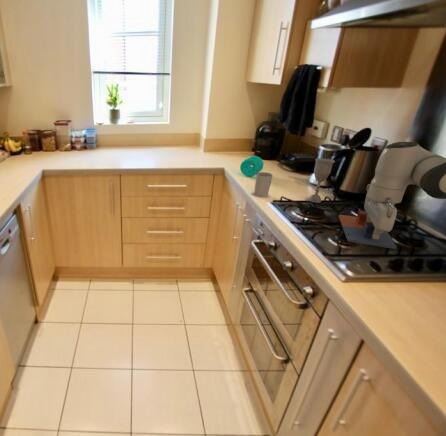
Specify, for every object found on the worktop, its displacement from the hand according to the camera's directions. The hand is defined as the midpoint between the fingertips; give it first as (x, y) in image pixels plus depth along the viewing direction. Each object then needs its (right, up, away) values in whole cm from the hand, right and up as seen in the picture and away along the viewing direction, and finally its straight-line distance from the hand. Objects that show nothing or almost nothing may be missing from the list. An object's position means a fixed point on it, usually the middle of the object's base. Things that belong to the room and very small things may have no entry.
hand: (371, 232), depth 106 cm
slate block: (0, -1, +1) cm, 1 cm away
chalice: (+1, +13, +33) cm, 35 cm away
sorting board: (+2, 0, +6) cm, 6 cm away
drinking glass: (-19, +15, +41) cm, 48 cm away
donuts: (-12, +29, +70) cm, 76 cm away
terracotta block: (+5, +3, +10) cm, 11 cm away
